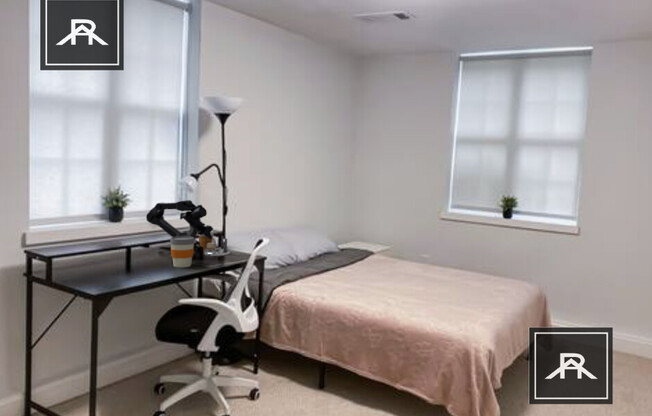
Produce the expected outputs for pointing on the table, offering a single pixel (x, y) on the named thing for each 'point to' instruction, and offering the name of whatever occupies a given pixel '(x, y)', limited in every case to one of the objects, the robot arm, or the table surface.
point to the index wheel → (218, 250)
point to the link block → (211, 246)
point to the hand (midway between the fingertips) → (211, 238)
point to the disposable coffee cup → (205, 240)
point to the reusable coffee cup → (182, 250)
